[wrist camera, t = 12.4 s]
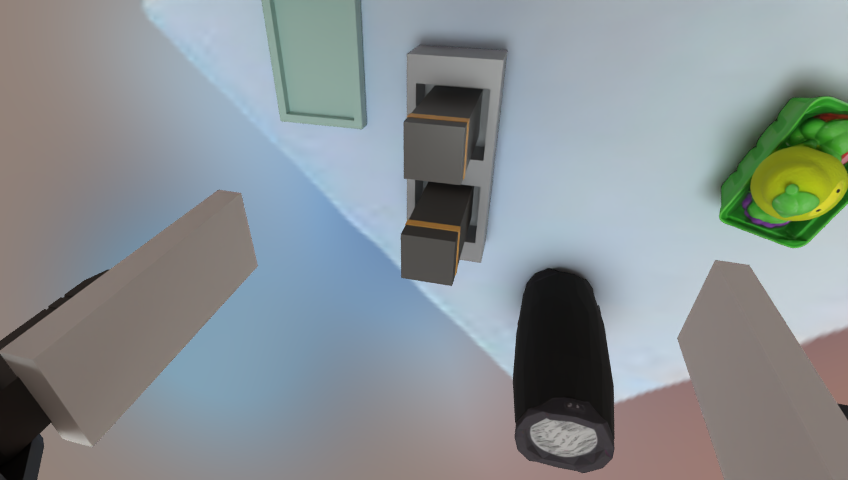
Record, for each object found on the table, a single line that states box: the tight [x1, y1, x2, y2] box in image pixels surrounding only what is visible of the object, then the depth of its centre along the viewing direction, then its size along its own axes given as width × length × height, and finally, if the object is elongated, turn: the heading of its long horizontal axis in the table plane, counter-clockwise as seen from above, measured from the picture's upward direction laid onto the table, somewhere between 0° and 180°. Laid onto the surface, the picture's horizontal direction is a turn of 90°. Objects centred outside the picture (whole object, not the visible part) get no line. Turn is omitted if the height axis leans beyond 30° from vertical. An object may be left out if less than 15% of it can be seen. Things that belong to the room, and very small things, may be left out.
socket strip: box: [404, 45, 508, 263], centre depth 40 cm, size 20×8×12 cm, turn 179°
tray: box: [261, 0, 367, 129], centre depth 43 cm, size 12×9×1 cm
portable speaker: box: [513, 269, 614, 473], centre depth 44 cm, size 9×9×20 cm
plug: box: [401, 181, 474, 286], centre depth 42 cm, size 5×5×12 cm
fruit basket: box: [719, 96, 848, 248], centre depth 34 cm, size 11×9×11 cm
